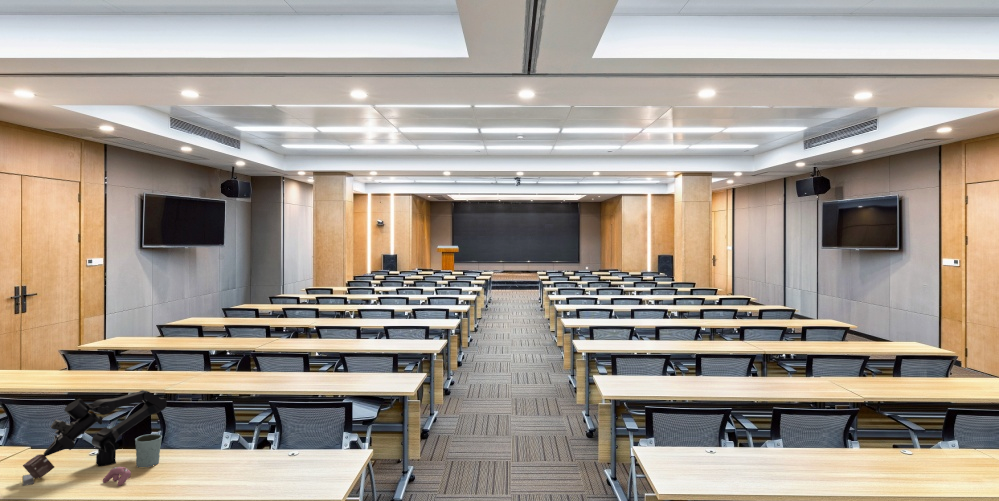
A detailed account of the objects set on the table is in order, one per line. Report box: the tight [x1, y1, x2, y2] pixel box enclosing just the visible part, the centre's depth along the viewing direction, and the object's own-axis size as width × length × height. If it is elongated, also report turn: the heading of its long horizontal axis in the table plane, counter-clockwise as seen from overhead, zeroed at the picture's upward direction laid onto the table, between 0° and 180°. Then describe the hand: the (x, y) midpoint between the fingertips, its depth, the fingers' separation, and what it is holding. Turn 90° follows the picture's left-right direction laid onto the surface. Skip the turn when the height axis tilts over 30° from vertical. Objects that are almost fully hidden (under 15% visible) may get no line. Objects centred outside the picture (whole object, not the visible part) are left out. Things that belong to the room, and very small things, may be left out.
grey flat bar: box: [22, 473, 35, 487], centre depth 226 cm, size 3×12×1 cm, turn 41°
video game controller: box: [102, 466, 132, 487], centre depth 227 cm, size 10×5×7 cm, turn 72°
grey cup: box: [134, 433, 163, 468], centre depth 246 cm, size 10×10×12 cm
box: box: [22, 453, 55, 479], centre depth 228 cm, size 6×6×7 cm
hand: (44, 454), depth 228 cm, fingers closed
